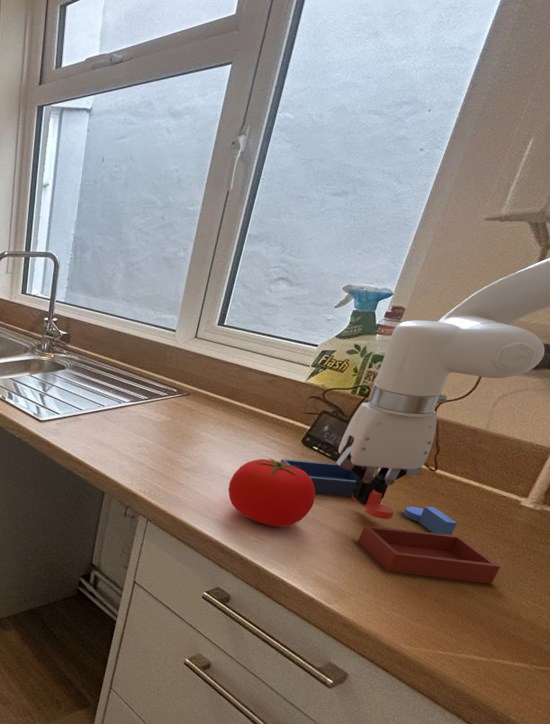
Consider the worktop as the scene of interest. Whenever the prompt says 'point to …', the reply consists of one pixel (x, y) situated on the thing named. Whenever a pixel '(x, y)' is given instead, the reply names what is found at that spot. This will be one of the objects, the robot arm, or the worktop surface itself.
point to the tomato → (272, 492)
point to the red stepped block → (377, 506)
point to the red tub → (428, 554)
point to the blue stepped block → (431, 519)
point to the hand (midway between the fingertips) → (365, 500)
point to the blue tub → (327, 477)
